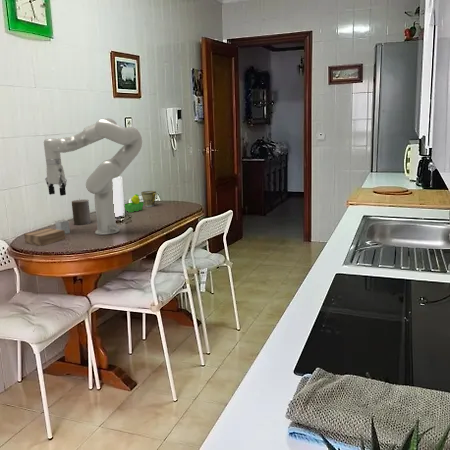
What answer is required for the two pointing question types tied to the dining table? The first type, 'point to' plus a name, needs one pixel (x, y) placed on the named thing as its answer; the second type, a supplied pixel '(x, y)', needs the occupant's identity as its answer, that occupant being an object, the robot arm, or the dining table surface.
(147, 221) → the dining table surface
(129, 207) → the fruit basket
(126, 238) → the dining table surface
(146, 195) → the ceramic cup
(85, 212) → the pillar candle
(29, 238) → the walnut block
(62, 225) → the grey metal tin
